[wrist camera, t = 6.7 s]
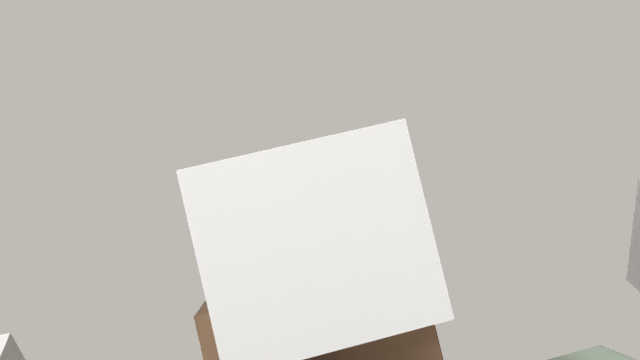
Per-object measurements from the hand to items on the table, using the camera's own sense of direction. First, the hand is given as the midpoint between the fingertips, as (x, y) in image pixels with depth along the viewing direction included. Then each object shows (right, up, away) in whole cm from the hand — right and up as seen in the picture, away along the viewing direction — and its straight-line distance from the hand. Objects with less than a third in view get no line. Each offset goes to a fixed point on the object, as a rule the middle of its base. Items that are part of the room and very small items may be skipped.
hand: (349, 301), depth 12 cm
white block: (-1, -1, +11) cm, 11 cm away
